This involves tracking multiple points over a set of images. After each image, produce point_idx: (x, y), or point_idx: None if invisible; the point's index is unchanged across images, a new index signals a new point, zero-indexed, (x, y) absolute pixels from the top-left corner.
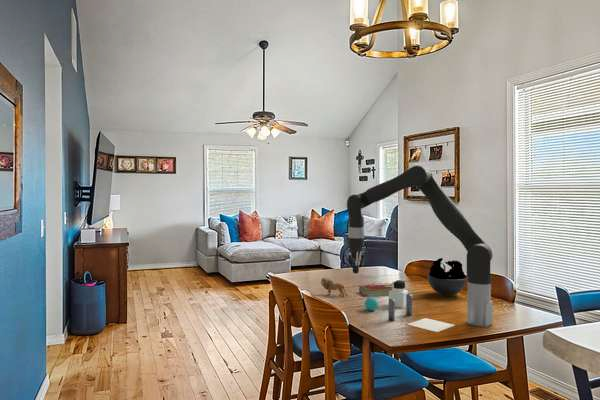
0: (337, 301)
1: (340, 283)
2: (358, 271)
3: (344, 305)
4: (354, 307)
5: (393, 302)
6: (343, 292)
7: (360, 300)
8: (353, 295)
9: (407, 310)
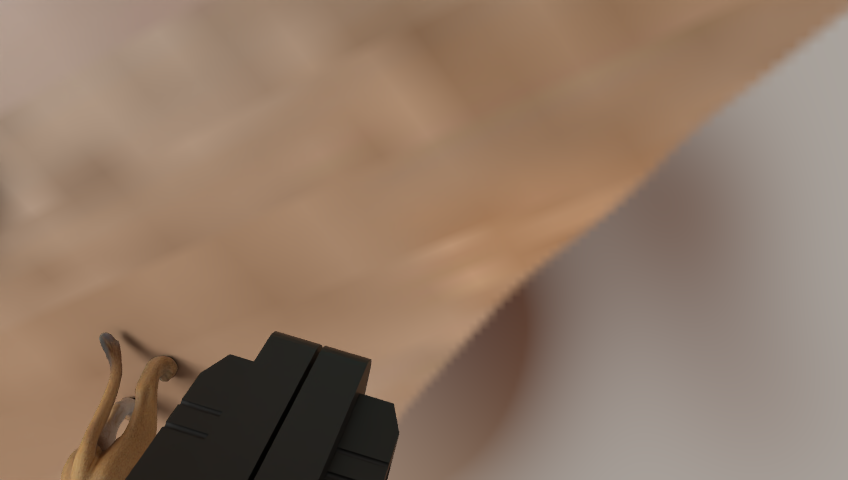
0: (377, 342)
1: None
2: (225, 362)
3: (500, 211)
4: (523, 59)
5: None
6: (141, 391)
7: (150, 147)
8: (32, 298)
9: None
